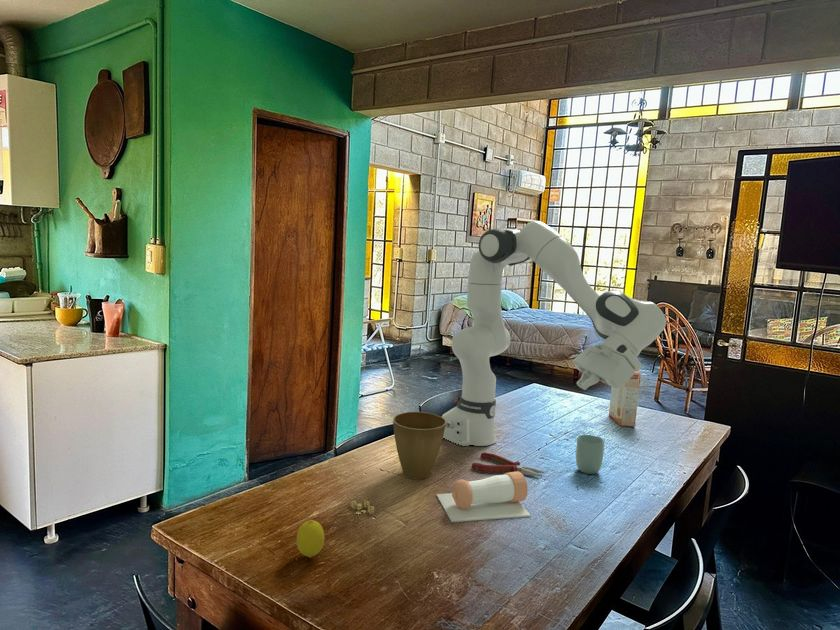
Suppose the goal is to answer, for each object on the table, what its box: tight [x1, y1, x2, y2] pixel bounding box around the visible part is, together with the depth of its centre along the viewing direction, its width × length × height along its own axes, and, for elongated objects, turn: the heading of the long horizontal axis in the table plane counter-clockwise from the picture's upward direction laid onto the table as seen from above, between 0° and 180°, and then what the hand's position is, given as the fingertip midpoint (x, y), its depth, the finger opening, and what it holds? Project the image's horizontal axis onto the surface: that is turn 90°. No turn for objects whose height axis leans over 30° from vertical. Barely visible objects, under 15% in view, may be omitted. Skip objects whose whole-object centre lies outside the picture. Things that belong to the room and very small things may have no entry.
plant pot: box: [392, 411, 446, 480], centre depth 156 cm, size 15×15×16 cm
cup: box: [575, 434, 605, 475], centre depth 164 cm, size 8×8×10 cm
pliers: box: [471, 452, 545, 478], centre depth 163 cm, size 11×20×3 cm, turn 67°
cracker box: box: [608, 371, 641, 427], centre depth 215 cm, size 14×6×21 cm, turn 179°
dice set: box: [350, 500, 375, 516], centre depth 134 cm, size 5×5×2 cm
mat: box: [435, 492, 531, 523], centre depth 139 cm, size 20×14×1 cm
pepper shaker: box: [451, 471, 529, 509], centre depth 139 cm, size 7×7×19 cm
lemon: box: [296, 519, 325, 559], centre depth 112 cm, size 6×6×8 cm
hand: (580, 386), depth 148 cm, fingers closed
